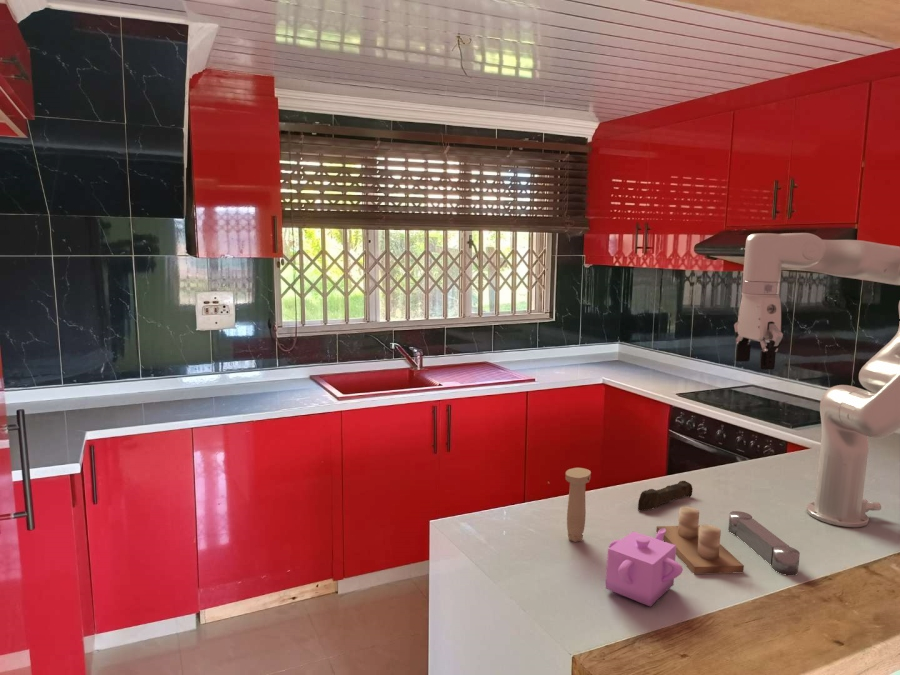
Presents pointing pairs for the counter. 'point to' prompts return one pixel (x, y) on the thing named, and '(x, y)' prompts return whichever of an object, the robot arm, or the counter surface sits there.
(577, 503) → the handle
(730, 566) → the tool rest
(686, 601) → the counter surface
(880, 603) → the counter surface
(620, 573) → the teapot
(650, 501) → the dark fuzzy dog bone
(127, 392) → the counter surface
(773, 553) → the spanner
